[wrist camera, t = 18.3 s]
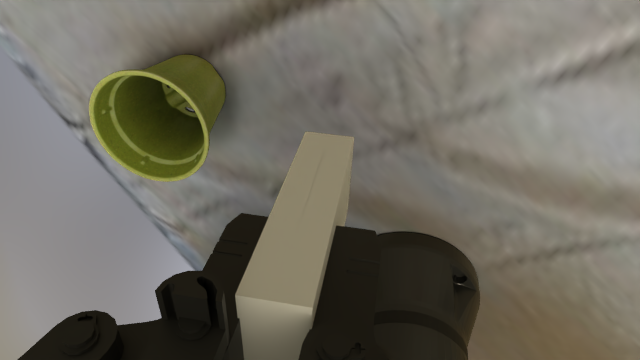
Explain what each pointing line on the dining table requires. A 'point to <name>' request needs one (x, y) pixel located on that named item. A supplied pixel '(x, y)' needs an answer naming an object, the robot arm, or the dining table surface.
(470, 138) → the dining table surface
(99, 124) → the plant pot
